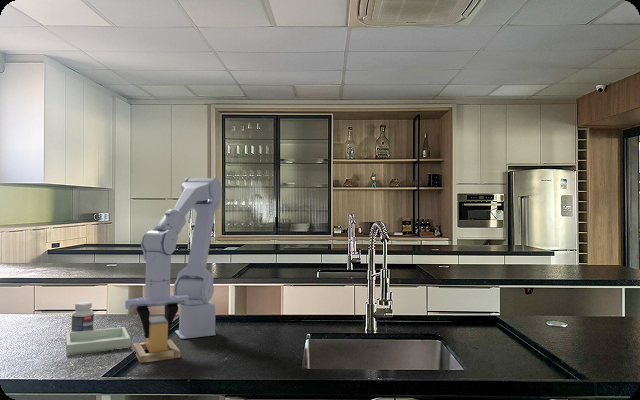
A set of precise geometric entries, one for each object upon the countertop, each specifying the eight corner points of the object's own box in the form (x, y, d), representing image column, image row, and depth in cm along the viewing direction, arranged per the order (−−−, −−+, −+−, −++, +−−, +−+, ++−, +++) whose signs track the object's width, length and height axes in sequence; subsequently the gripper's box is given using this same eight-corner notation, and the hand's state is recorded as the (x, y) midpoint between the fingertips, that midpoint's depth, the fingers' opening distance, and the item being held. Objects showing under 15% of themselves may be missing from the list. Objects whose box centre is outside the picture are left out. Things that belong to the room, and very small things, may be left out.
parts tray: (124, 336, 128) (124, 326, 128) (130, 348, 117) (130, 338, 117) (65, 342, 121) (66, 332, 121) (66, 355, 111) (66, 345, 111)
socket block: (170, 345, 121) (170, 339, 121) (180, 357, 111) (180, 351, 111) (133, 349, 116) (133, 343, 116) (139, 363, 107) (139, 356, 107)
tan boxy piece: (162, 343, 117) (163, 315, 117) (167, 350, 112) (168, 321, 112) (145, 345, 115) (146, 317, 116) (149, 352, 110) (150, 322, 110)
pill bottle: (84, 339, 124) (85, 305, 124) (66, 337, 125) (67, 304, 125) (97, 334, 129) (98, 301, 130) (80, 332, 131) (81, 300, 131)
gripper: (128, 284, 107) (126, 344, 107) (192, 280, 114) (190, 336, 114) (124, 279, 113) (122, 336, 113) (185, 276, 120) (184, 329, 120)
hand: (156, 336), depth 114 cm, fingers closed on tan boxy piece, 4 cm apart
